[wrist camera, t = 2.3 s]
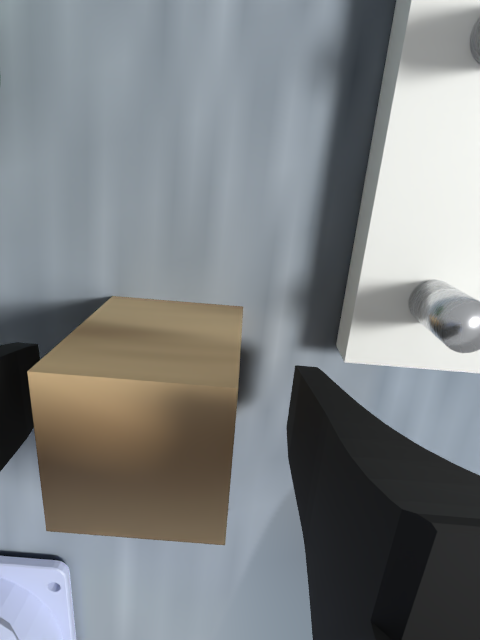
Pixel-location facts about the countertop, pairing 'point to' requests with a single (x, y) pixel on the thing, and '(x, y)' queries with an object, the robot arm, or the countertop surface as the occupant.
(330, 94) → the countertop surface
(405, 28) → the plate
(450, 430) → the countertop surface
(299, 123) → the countertop surface
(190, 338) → the block
